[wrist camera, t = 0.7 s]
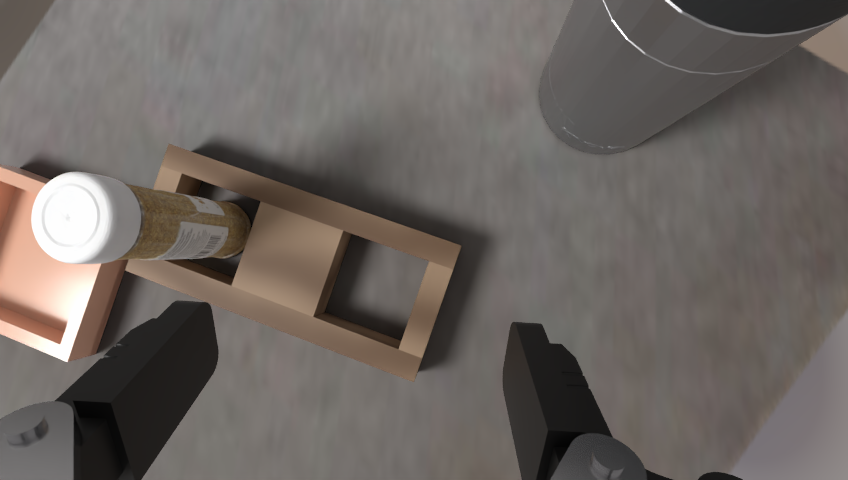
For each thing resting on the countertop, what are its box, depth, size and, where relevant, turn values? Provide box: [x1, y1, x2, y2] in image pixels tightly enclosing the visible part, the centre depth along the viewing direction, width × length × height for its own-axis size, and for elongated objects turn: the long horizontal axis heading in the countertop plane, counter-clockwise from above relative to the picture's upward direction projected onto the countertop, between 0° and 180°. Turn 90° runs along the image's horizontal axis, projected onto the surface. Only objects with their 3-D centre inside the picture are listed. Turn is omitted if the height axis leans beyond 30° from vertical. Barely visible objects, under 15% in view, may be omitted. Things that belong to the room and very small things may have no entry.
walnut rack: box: [125, 144, 462, 382], centre depth 32 cm, size 10×23×2 cm, turn 71°
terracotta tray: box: [0, 164, 129, 362], centre depth 34 cm, size 12×12×2 cm
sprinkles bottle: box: [31, 172, 251, 264], centre depth 27 cm, size 5×5×14 cm
